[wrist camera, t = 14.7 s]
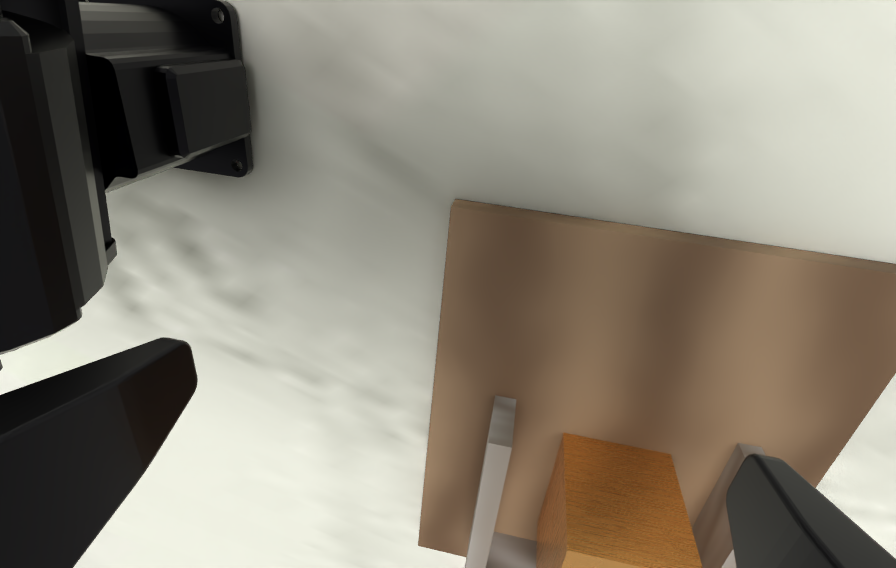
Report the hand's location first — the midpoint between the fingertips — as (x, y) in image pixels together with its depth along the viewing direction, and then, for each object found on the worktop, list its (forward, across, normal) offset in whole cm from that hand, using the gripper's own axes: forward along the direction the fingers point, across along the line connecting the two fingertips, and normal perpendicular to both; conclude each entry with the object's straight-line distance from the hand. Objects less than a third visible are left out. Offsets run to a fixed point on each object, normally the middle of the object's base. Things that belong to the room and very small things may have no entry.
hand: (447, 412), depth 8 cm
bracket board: (+13, -7, +12) cm, 19 cm away
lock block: (+12, -7, +15) cm, 20 cm away
